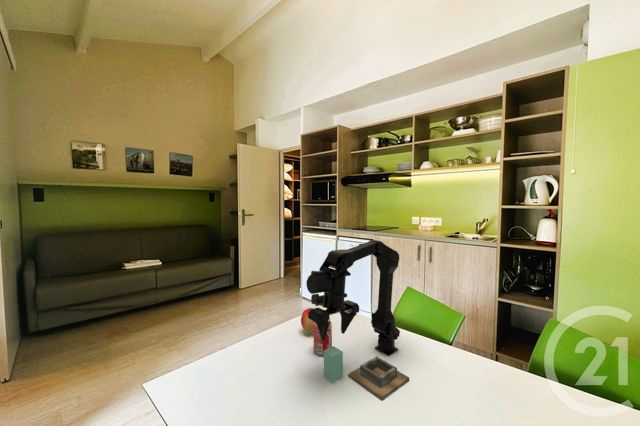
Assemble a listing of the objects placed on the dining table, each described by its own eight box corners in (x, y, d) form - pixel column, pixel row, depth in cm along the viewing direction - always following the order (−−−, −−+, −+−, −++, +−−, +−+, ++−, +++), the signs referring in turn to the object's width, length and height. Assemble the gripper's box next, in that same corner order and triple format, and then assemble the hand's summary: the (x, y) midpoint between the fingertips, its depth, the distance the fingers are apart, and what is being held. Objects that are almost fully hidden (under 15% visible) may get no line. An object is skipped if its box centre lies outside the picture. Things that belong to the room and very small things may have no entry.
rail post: (333, 371, 95) (333, 346, 94) (342, 377, 91) (342, 351, 91) (323, 376, 92) (323, 350, 92) (332, 383, 89) (332, 356, 88)
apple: (296, 332, 123) (296, 310, 122) (312, 325, 129) (312, 304, 129) (310, 340, 116) (310, 316, 115) (326, 332, 122) (326, 310, 122)
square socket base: (375, 360, 101) (375, 350, 100) (409, 380, 90) (409, 368, 90) (348, 376, 92) (348, 365, 92) (381, 400, 81) (382, 387, 81)
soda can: (330, 357, 103) (330, 323, 102) (311, 355, 104) (311, 322, 103) (333, 347, 110) (333, 315, 109) (315, 345, 111) (315, 314, 110)
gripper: (338, 280, 103) (335, 322, 103) (298, 287, 91) (295, 334, 91) (361, 288, 95) (358, 333, 95) (321, 296, 82) (318, 348, 82)
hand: (333, 336), depth 91 cm, fingers open, 9 cm apart
